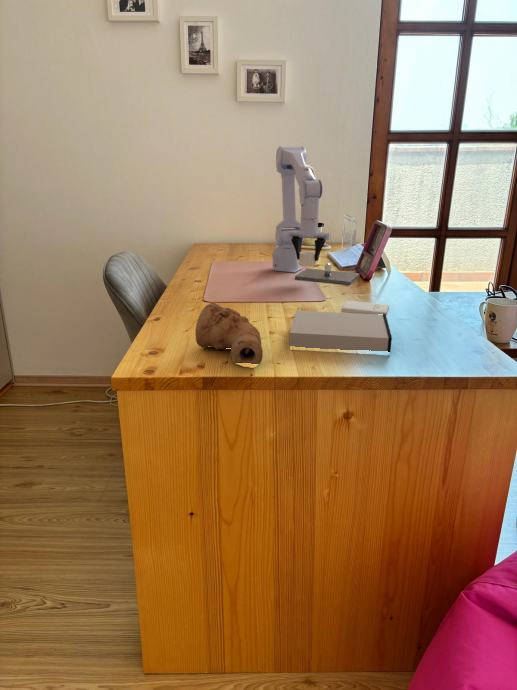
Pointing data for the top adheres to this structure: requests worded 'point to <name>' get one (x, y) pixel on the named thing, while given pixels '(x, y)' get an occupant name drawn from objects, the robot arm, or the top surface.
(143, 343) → the top surface
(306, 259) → the ring
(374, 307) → the external hard drive
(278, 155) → the robot arm
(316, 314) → the disc drive
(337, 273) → the steel tile with stud
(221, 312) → the clay pipe
